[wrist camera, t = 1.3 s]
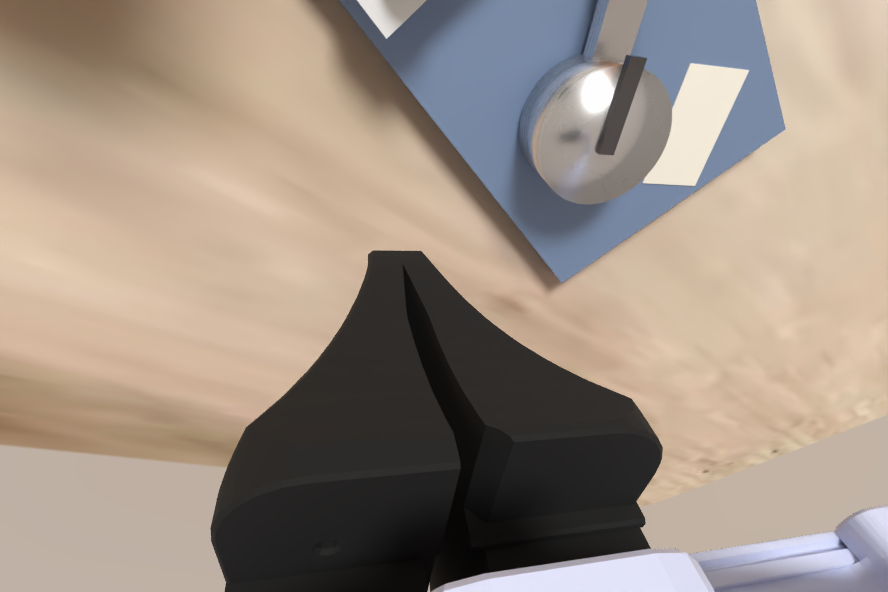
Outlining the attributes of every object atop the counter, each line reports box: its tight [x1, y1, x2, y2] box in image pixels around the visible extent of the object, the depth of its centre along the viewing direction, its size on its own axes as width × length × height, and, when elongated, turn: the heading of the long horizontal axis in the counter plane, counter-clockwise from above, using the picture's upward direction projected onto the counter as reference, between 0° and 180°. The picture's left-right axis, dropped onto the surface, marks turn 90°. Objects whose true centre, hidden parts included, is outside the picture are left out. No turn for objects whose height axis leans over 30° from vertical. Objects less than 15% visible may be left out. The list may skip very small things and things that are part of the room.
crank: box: [519, 0, 672, 204], centre depth 16 cm, size 9×5×4 cm, turn 174°
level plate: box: [339, 0, 785, 283], centre depth 16 cm, size 18×12×4 cm, turn 39°
